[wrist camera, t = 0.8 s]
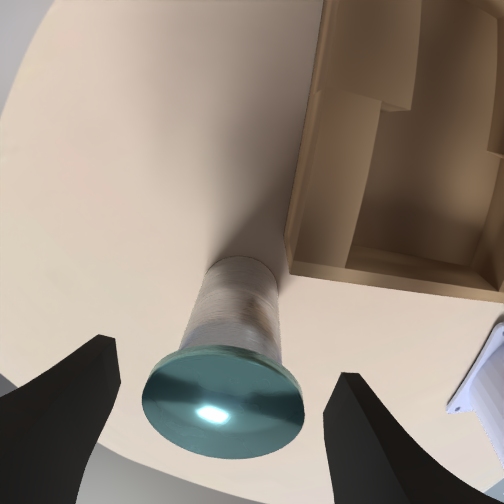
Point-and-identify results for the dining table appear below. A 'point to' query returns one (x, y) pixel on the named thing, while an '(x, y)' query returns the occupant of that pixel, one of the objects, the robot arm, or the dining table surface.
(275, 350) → the peg
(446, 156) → the keyhole board
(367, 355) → the dining table surface
